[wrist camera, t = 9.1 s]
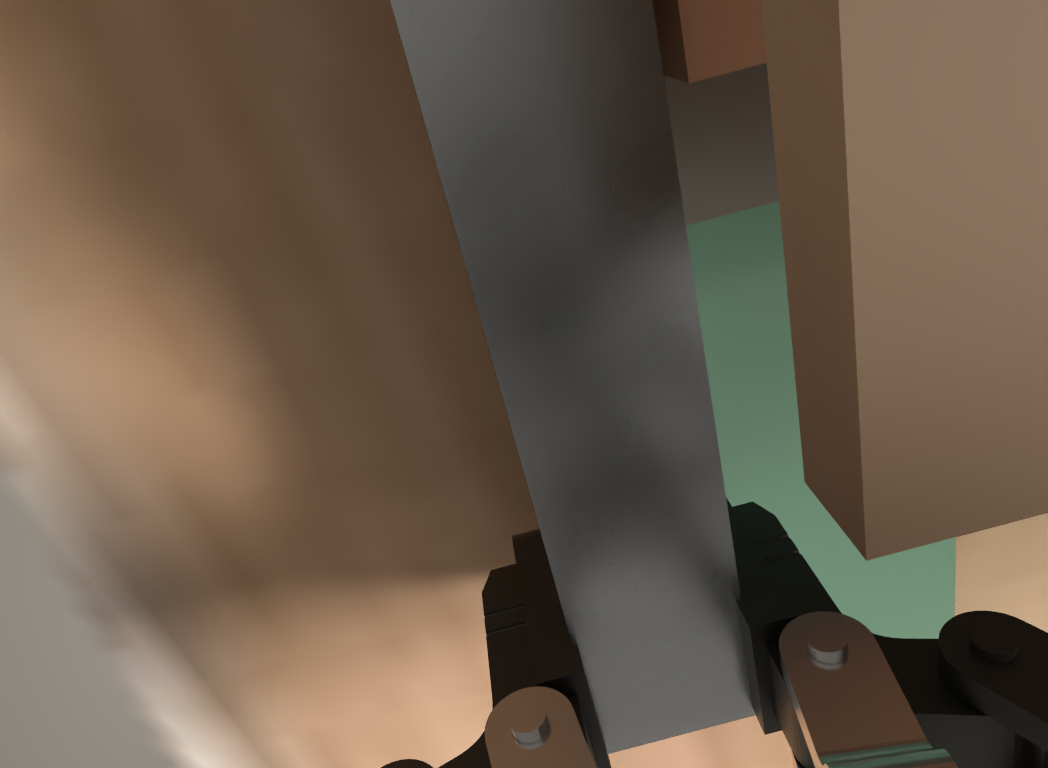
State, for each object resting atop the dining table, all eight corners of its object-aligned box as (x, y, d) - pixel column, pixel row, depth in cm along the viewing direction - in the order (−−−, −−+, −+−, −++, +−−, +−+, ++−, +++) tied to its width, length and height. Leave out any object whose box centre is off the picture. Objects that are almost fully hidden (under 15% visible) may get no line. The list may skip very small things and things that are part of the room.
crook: (249, -544, 9) (127, -926, 5) (909, -722, 9) (1247, -1228, 5) (563, 587, 16) (603, 754, 12) (924, 491, 16) (1067, 632, 12)
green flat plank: (379, -1054, 8) (379, -1070, 8) (978, -1217, 8) (986, -1235, 8) (708, 704, 19) (710, 708, 19) (951, 639, 19) (955, 642, 19)
